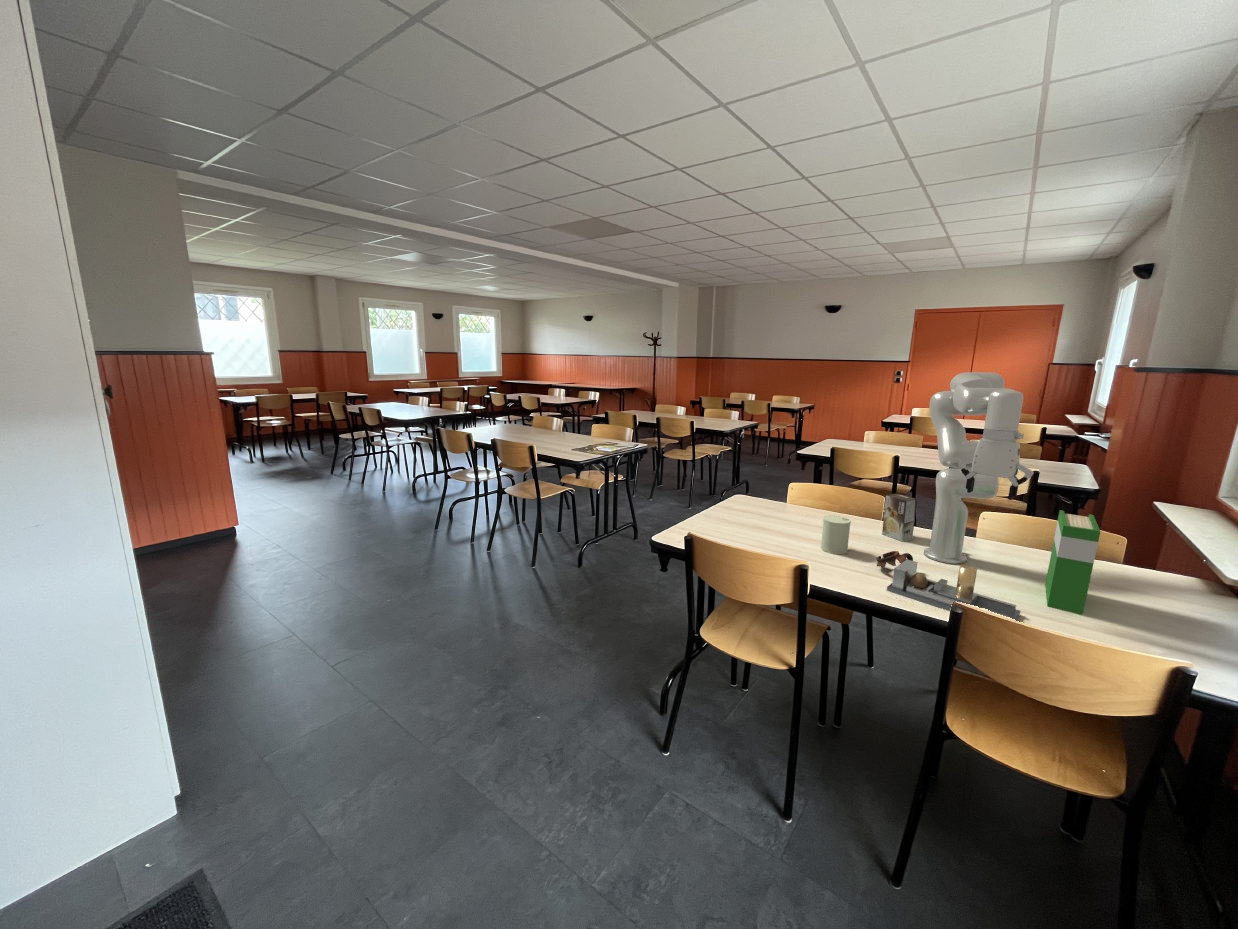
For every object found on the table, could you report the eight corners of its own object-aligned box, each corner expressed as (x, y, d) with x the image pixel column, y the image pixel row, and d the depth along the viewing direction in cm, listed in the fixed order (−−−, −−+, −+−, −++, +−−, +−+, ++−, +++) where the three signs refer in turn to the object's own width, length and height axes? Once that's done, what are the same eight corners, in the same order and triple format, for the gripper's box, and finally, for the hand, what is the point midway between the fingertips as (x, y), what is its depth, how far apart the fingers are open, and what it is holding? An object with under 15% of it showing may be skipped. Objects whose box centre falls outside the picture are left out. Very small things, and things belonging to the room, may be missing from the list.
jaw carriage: (940, 589, 150) (945, 557, 148) (977, 600, 143) (982, 567, 141) (932, 597, 145) (936, 564, 143) (969, 608, 138) (975, 574, 136)
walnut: (912, 583, 154) (914, 570, 153) (928, 588, 151) (930, 574, 150) (907, 587, 151) (909, 574, 150) (923, 592, 148) (925, 579, 147)
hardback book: (1045, 584, 156) (1059, 510, 151) (1077, 591, 152) (1093, 514, 147) (1047, 606, 143) (1063, 525, 137) (1082, 614, 138) (1100, 531, 133)
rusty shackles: (900, 583, 158) (888, 559, 159) (878, 584, 166) (866, 561, 168) (926, 568, 162) (914, 544, 163) (903, 569, 171) (891, 547, 172)
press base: (902, 578, 160) (904, 557, 158) (1019, 614, 138) (1024, 590, 136) (886, 590, 152) (889, 568, 151) (1008, 630, 130) (1013, 604, 129)
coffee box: (913, 539, 194) (918, 499, 191) (902, 541, 191) (907, 501, 188) (891, 531, 202) (896, 493, 199) (880, 534, 200) (885, 494, 196)
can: (852, 554, 179) (855, 522, 177) (826, 554, 180) (829, 521, 177) (841, 544, 188) (844, 514, 186) (816, 544, 189) (819, 513, 186)
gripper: (1042, 438, 136) (1031, 499, 140) (967, 430, 148) (958, 487, 152) (1036, 441, 131) (1024, 504, 135) (959, 433, 144) (950, 491, 147)
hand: (989, 495), depth 143 cm, fingers open, 9 cm apart
